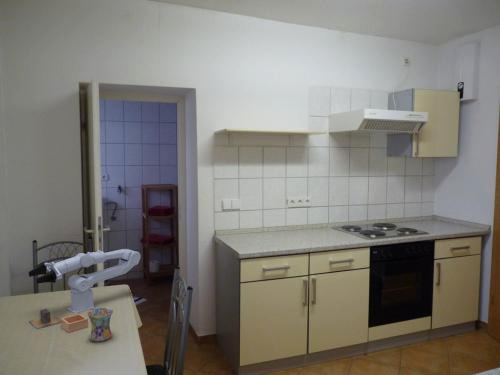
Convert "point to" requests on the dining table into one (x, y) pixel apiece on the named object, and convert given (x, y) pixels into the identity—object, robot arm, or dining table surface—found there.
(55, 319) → the lid
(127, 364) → the dining table surface
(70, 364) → the dining table surface
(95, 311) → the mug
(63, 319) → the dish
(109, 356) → the dining table surface
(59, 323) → the mat
